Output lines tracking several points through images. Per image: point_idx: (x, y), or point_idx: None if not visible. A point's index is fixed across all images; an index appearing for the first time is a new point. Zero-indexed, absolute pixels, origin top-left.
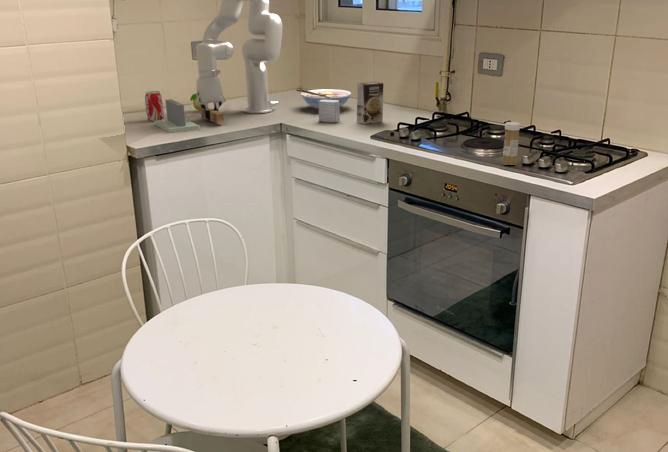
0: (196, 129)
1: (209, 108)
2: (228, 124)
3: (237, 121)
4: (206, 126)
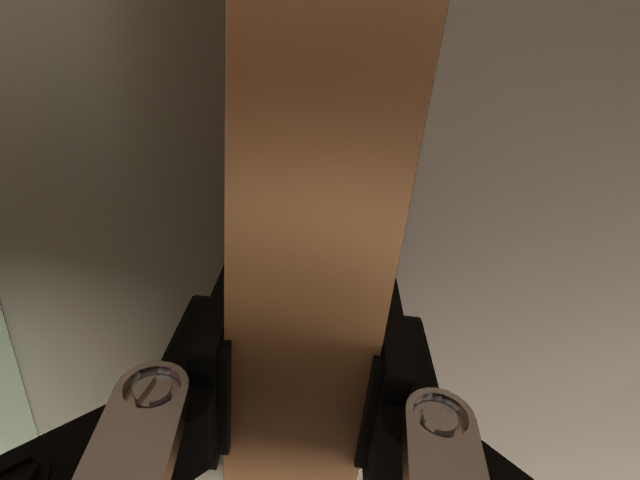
0: None
1: (420, 121)
2: None
3: (565, 403)
4: None
